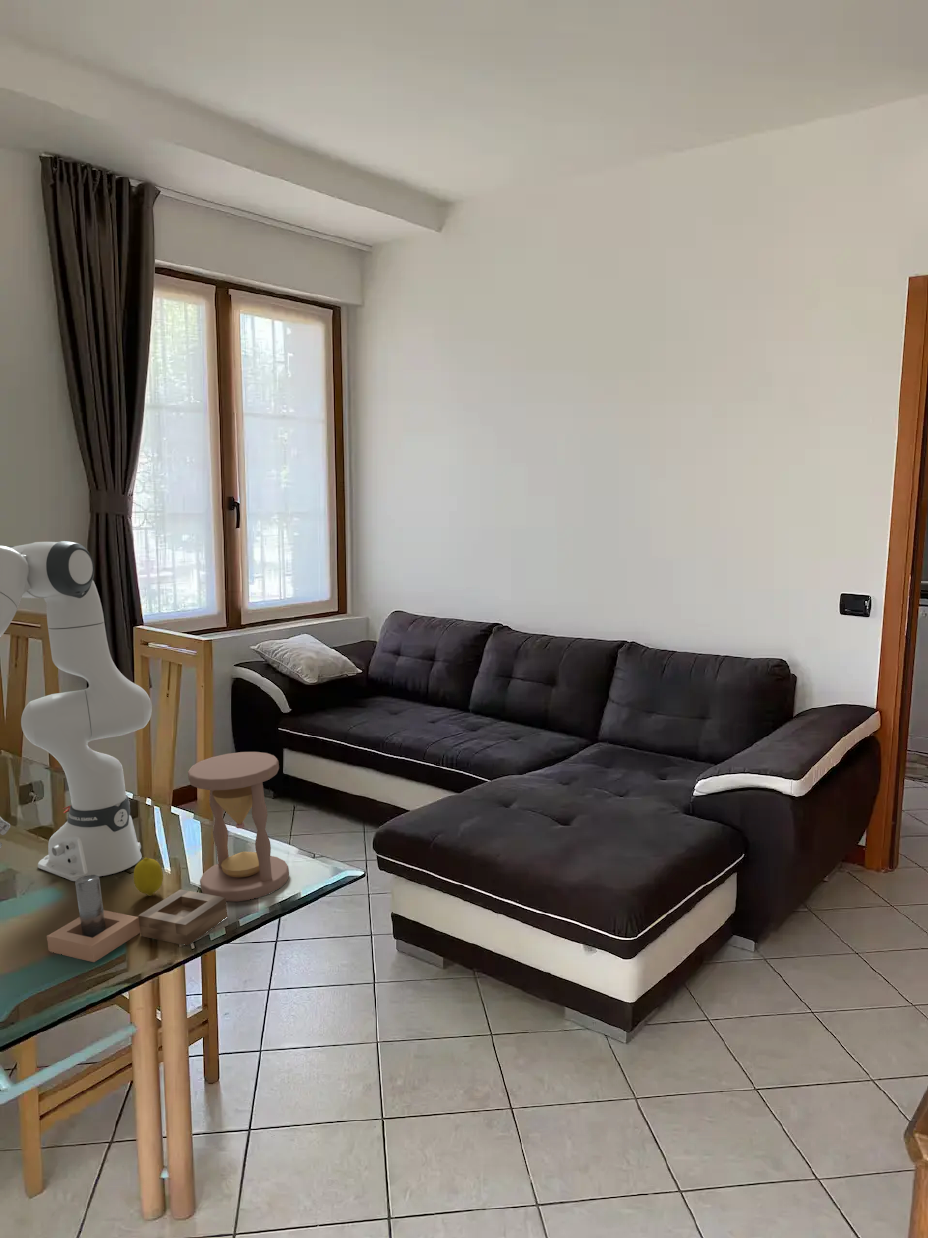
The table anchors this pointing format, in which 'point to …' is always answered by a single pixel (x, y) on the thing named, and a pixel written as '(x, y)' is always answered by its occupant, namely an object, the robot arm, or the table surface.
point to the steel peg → (90, 905)
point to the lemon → (148, 876)
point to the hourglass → (239, 824)
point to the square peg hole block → (183, 917)
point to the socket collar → (94, 948)
